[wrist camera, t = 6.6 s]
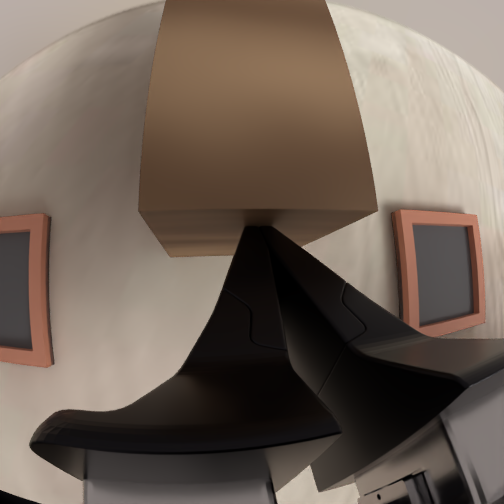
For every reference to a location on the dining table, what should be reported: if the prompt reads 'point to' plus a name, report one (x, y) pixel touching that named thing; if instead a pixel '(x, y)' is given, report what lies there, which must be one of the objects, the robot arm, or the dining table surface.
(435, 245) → the tile
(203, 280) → the dining table surface
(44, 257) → the tile
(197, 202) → the walnut brick
